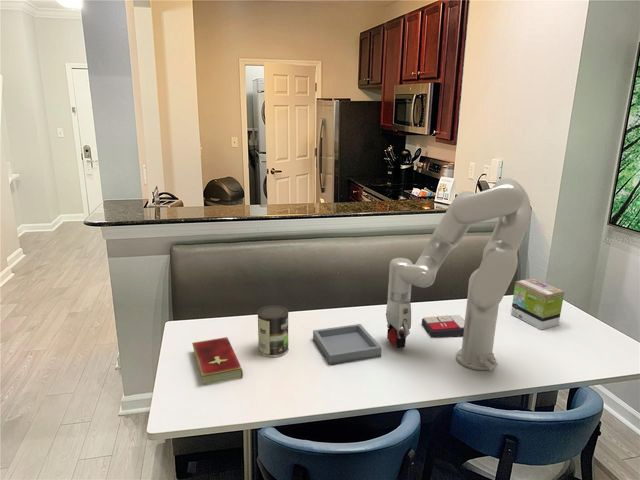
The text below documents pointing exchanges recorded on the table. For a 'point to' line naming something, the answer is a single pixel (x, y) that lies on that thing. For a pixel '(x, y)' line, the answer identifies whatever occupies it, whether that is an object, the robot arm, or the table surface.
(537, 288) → the tea box
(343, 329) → the tray
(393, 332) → the onion
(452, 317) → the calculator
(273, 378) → the table surface
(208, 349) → the hardcover book
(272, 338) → the coffee can
